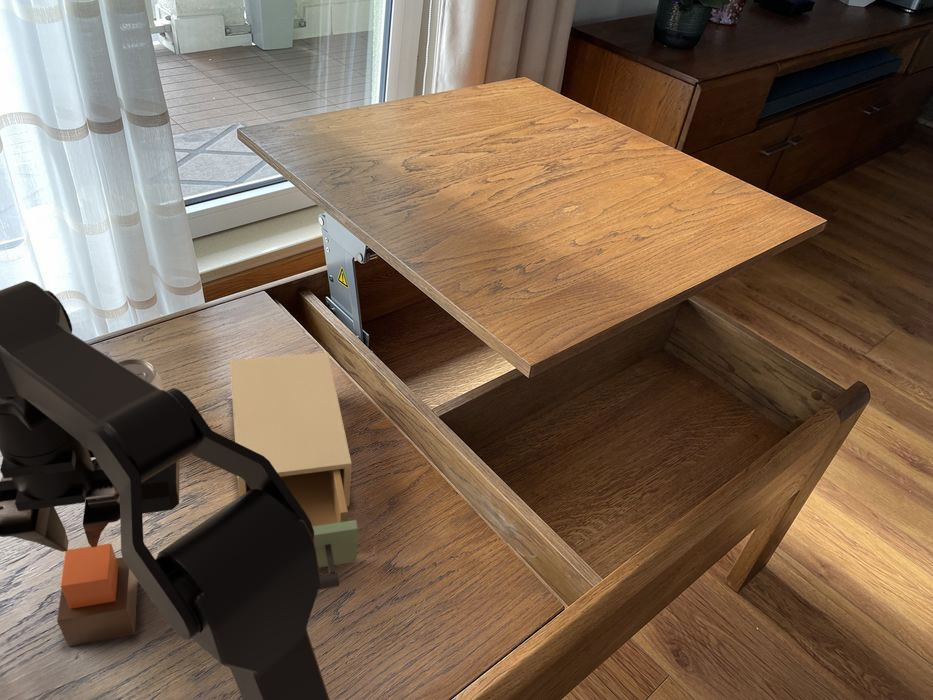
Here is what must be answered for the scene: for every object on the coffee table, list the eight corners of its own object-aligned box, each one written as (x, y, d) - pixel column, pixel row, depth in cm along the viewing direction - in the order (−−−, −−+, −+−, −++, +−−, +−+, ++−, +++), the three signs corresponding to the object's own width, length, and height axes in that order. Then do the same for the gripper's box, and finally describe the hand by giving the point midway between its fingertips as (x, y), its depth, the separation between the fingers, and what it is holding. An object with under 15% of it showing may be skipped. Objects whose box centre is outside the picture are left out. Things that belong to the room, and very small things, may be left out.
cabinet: (349, 506, 88) (351, 463, 82) (242, 521, 84) (237, 477, 79) (327, 395, 101) (328, 352, 96) (234, 404, 98) (230, 360, 92)
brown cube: (134, 634, 72) (126, 608, 69) (68, 646, 70) (56, 620, 67) (137, 582, 76) (129, 555, 73) (75, 592, 75) (64, 565, 71)
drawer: (363, 600, 77) (366, 568, 73) (254, 620, 74) (250, 587, 70) (332, 440, 94) (333, 407, 90) (242, 451, 91) (239, 416, 87)
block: (115, 601, 69) (108, 578, 67) (69, 609, 68) (60, 586, 66) (118, 566, 72) (111, 543, 70) (74, 572, 71) (65, 549, 68)
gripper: (169, 352, 64) (188, 465, 74) (-76, 370, 59) (-19, 489, 69) (166, 445, 56) (188, 557, 66) (-117, 475, 51) (-46, 593, 61)
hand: (80, 544), depth 66 cm, fingers closed
